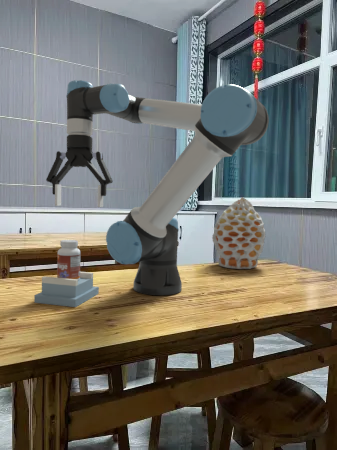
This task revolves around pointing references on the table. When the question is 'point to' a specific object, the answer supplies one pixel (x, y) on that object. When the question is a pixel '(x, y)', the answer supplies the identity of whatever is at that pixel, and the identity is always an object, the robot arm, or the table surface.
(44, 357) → the table surface
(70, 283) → the pedestal
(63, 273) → the pill bottle
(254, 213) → the sculpture
